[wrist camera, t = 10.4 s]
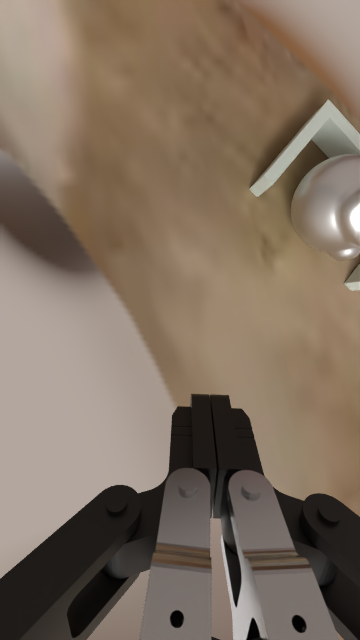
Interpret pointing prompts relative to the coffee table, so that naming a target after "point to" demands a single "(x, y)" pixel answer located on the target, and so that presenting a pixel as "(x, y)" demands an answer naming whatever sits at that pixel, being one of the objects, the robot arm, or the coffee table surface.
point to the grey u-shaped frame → (331, 139)
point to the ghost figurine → (330, 207)
